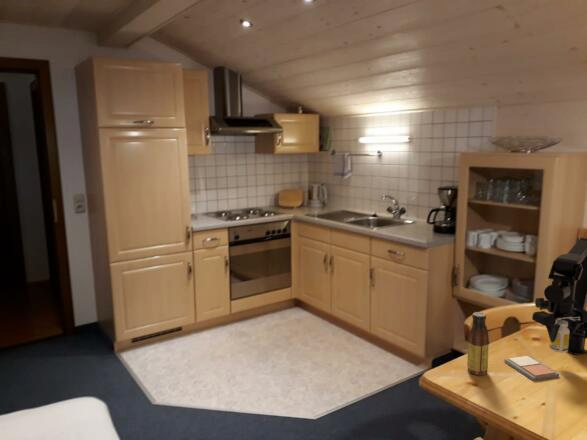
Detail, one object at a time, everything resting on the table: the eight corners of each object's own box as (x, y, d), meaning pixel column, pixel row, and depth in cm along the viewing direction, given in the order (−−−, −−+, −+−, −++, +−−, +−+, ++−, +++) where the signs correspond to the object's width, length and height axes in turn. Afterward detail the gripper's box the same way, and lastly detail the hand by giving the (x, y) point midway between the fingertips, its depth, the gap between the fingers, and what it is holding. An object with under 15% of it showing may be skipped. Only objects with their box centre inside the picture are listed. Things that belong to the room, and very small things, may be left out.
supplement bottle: (565, 347, 158) (568, 319, 156) (569, 354, 152) (572, 325, 151) (547, 345, 159) (550, 317, 158) (550, 351, 154) (553, 323, 153)
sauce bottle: (484, 367, 155) (488, 310, 152) (489, 377, 149) (494, 318, 146) (463, 366, 156) (467, 310, 152) (468, 376, 150) (472, 317, 146)
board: (528, 358, 162) (529, 354, 162) (559, 376, 149) (559, 372, 149) (504, 361, 159) (504, 358, 159) (532, 380, 147) (533, 376, 147)
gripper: (567, 286, 163) (562, 328, 165) (522, 290, 158) (518, 334, 161) (595, 296, 152) (589, 341, 155) (547, 301, 147) (543, 347, 150)
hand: (559, 340), depth 155 cm, fingers closed on supplement bottle, 5 cm apart
